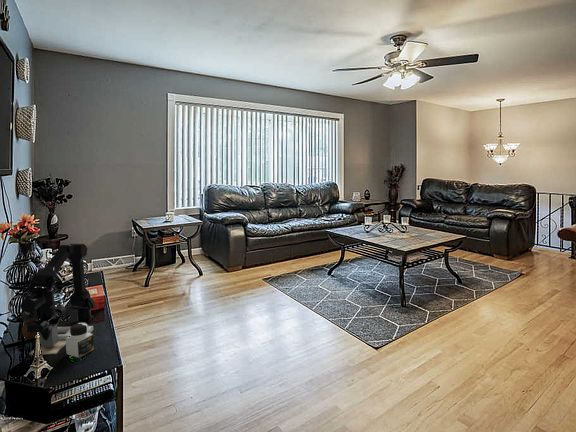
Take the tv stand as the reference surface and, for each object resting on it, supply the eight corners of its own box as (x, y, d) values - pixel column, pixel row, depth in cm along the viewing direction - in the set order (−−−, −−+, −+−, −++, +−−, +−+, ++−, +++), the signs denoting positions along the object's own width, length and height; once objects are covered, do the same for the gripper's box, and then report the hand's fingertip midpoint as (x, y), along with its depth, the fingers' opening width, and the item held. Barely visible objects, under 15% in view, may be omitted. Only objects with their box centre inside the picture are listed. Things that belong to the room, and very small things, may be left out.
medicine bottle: (78, 358, 137) (76, 330, 136) (66, 354, 140) (64, 327, 138) (94, 349, 144) (92, 322, 142) (82, 346, 146) (80, 319, 145)
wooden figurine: (30, 342, 149) (27, 309, 146) (19, 340, 150) (16, 308, 148) (44, 334, 155) (41, 303, 153) (34, 333, 156) (31, 302, 154)
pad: (43, 342, 148) (43, 341, 148) (68, 341, 150) (68, 340, 150) (29, 355, 139) (29, 353, 139) (55, 353, 140) (55, 352, 140)
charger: (45, 341, 146) (43, 320, 144) (58, 341, 146) (56, 320, 145) (40, 346, 142) (38, 325, 140) (53, 346, 142) (51, 324, 141)
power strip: (52, 331, 159) (52, 325, 158) (93, 329, 161) (93, 324, 160) (41, 340, 150) (40, 335, 149) (84, 339, 152) (84, 333, 152)
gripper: (38, 294, 149) (41, 327, 152) (9, 312, 131) (13, 350, 133) (65, 293, 151) (68, 326, 153) (40, 311, 133) (43, 348, 135)
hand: (48, 337), depth 144 cm, fingers closed on charger, 4 cm apart
